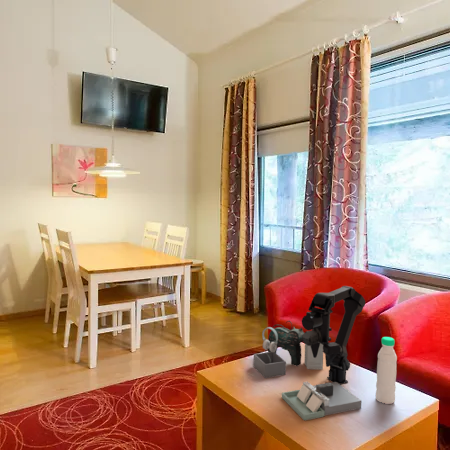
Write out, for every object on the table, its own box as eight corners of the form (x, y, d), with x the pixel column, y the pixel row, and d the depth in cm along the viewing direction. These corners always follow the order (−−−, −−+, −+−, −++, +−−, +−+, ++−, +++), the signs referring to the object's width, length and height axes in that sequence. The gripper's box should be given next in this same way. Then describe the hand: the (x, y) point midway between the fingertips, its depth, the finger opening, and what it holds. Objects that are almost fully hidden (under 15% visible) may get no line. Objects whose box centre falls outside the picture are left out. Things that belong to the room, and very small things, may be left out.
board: (335, 388, 167) (336, 381, 167) (361, 408, 152) (361, 400, 152) (302, 394, 162) (302, 387, 162) (324, 415, 147) (325, 407, 147)
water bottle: (393, 406, 154) (396, 343, 152) (373, 401, 157) (376, 339, 155) (396, 398, 160) (399, 337, 158) (377, 393, 163) (380, 333, 161)
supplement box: (323, 369, 185) (324, 343, 184) (307, 369, 185) (307, 342, 184) (319, 363, 192) (320, 337, 191) (304, 362, 193) (304, 336, 192)
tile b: (315, 395, 153) (313, 393, 152) (322, 401, 148) (320, 400, 148) (307, 406, 152) (305, 405, 152) (315, 413, 147) (313, 412, 147)
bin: (300, 394, 162) (300, 389, 162) (324, 416, 146) (324, 411, 146) (281, 397, 159) (281, 392, 159) (304, 420, 143) (304, 415, 143)
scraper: (320, 385, 164) (320, 375, 163) (342, 403, 150) (343, 392, 149) (302, 388, 161) (303, 378, 161) (324, 407, 147) (325, 396, 147)
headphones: (259, 369, 185) (260, 326, 183) (264, 366, 188) (265, 324, 186) (273, 374, 179) (274, 331, 177) (279, 372, 182) (280, 329, 180)
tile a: (304, 385, 160) (302, 384, 159) (311, 391, 155) (309, 390, 155) (298, 397, 159) (296, 396, 159) (305, 403, 154) (303, 402, 154)
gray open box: (273, 363, 191) (273, 351, 190) (285, 374, 179) (285, 361, 179) (253, 366, 187) (253, 354, 187) (264, 378, 176) (265, 364, 175)
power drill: (305, 365, 190) (306, 323, 188) (297, 369, 185) (298, 326, 184) (272, 352, 204) (273, 314, 203) (264, 356, 200) (265, 316, 198)
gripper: (293, 319, 170) (292, 355, 171) (317, 334, 152) (316, 374, 153) (316, 317, 173) (315, 352, 175) (342, 331, 156) (341, 370, 157)
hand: (321, 361), depth 165 cm, fingers open, 9 cm apart
